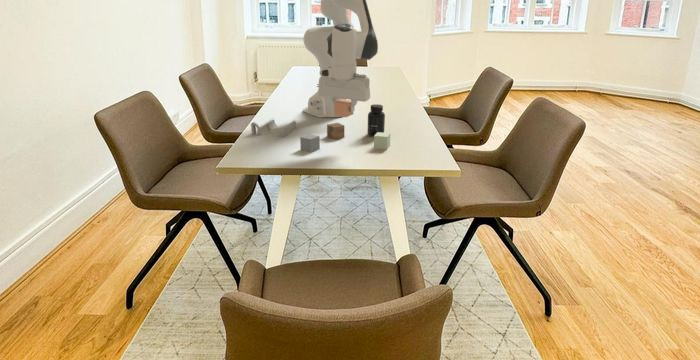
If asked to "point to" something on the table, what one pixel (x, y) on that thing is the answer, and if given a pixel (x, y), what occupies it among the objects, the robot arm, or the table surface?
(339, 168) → the table surface
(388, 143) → the sage cube
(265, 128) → the skate ramp
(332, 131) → the walnut cube
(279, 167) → the table surface
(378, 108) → the supplement bottle
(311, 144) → the slate grey cube
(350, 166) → the table surface
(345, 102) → the terracotta cube
